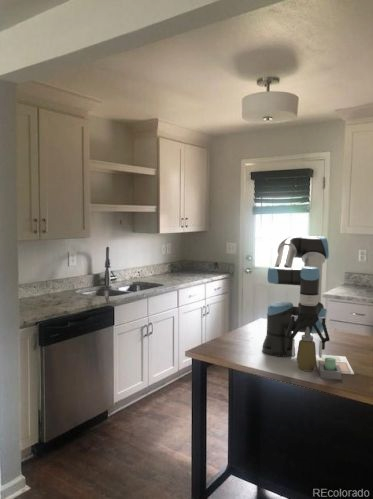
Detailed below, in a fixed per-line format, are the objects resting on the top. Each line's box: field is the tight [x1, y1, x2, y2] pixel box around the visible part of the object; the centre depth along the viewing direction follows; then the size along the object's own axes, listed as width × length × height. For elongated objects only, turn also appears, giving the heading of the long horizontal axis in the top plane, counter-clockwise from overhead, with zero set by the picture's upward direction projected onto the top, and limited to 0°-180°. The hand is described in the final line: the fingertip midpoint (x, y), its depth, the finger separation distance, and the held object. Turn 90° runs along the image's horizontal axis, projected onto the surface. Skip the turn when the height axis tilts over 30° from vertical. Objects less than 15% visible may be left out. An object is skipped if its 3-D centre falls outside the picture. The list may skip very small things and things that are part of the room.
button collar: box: [317, 364, 343, 381], centre depth 172 cm, size 8×8×3 cm
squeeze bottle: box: [296, 327, 317, 372], centre depth 178 cm, size 8×8×18 cm
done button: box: [324, 358, 336, 371], centre depth 172 cm, size 4×4×5 cm
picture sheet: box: [315, 353, 355, 375], centre depth 185 cm, size 14×21×1 cm, turn 169°
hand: (306, 355), depth 178 cm, fingers open, 10 cm apart
